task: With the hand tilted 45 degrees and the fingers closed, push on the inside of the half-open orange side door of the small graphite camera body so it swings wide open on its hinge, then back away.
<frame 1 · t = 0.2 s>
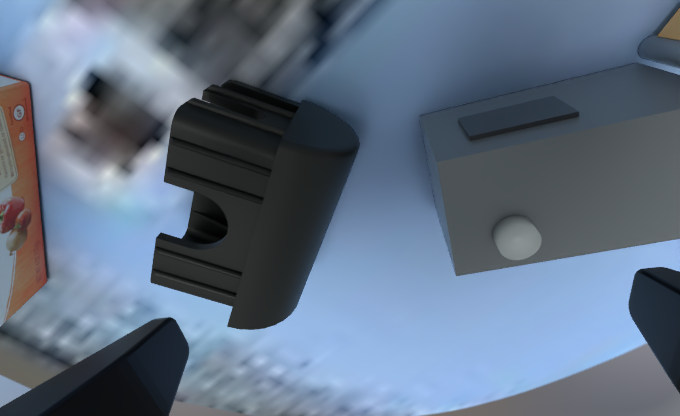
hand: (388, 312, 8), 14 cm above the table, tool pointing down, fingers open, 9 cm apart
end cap: (272, 174, 23), on the table
cracker box: (0, 179, 24), on the table
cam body: (525, 143, 20), on the table
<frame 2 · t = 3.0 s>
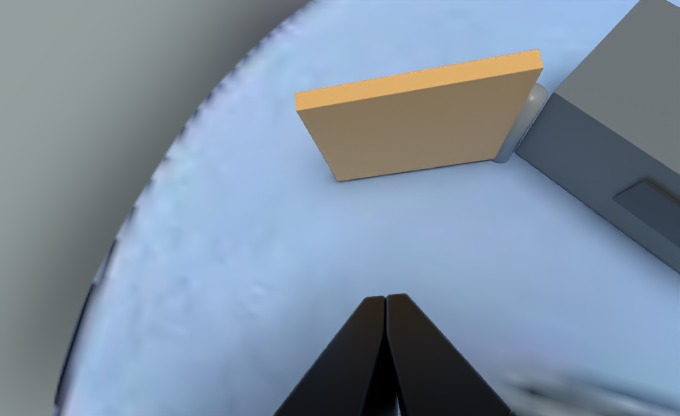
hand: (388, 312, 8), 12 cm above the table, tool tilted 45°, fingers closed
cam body: (638, 174, 19), on the table
door: (423, 132, 17), point 4 cm above the table, hinge at 130.0°
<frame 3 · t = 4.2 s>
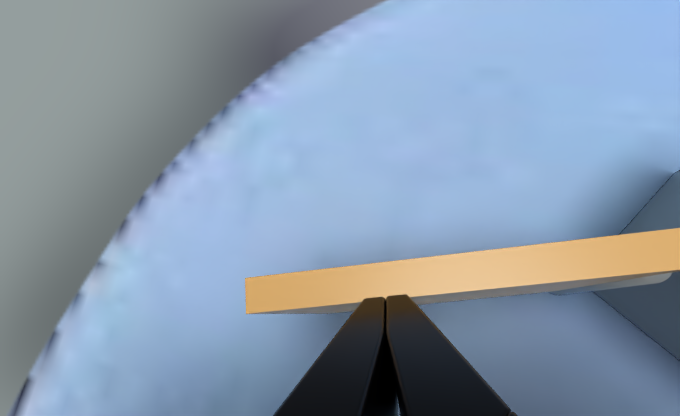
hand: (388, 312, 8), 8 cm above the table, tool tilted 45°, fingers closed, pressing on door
door: (456, 285, 11), point 4 cm above the table, hinge at 130.0°, touching gripper
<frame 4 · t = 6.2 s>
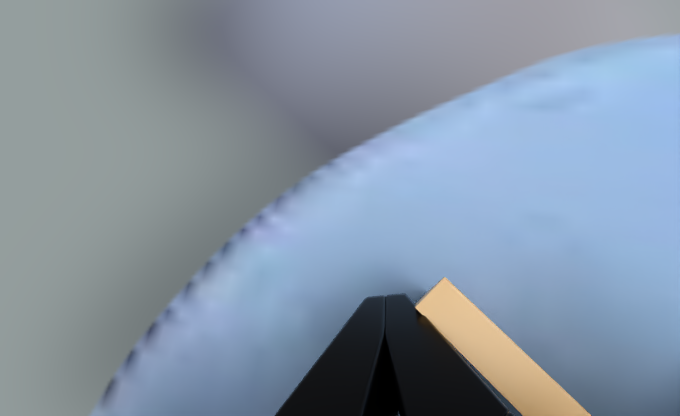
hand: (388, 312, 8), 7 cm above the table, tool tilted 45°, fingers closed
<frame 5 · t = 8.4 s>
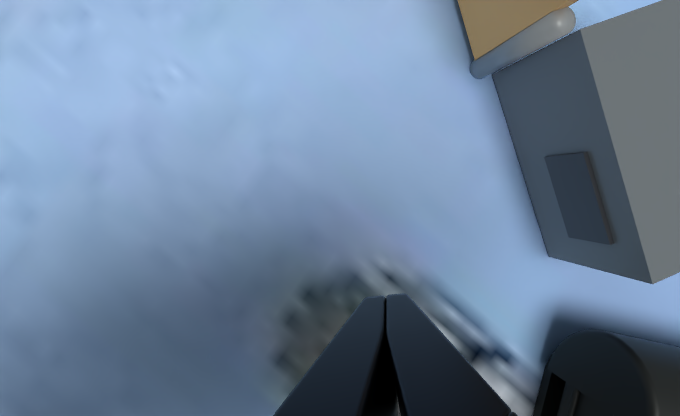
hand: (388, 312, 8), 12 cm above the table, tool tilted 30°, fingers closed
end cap: (610, 383, 23), on the table
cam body: (566, 150, 21), on the table
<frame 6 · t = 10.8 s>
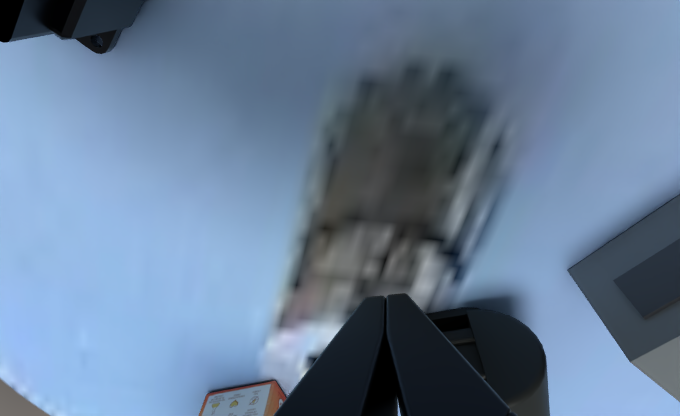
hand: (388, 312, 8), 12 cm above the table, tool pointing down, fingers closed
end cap: (465, 355, 26), on the table
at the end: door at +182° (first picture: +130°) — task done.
